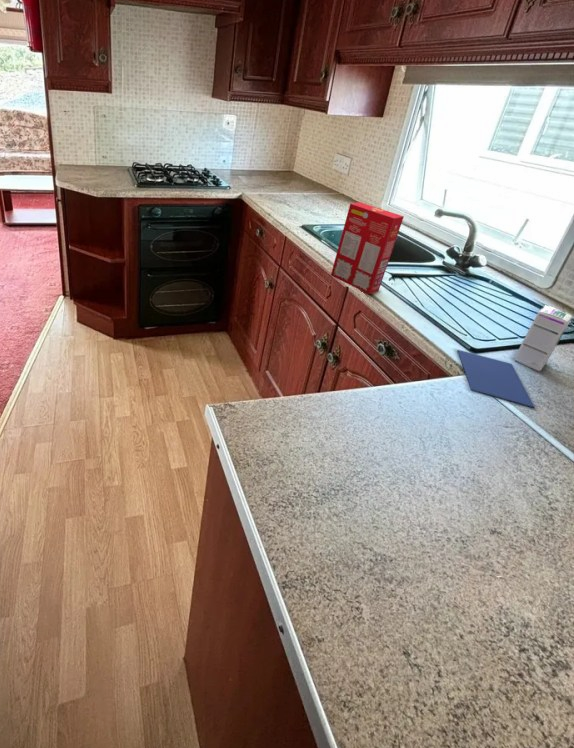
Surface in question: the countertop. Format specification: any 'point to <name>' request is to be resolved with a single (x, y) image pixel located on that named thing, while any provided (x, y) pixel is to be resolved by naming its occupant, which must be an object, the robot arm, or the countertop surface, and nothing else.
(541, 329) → the syrup box
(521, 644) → the countertop surface
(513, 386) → the cloth
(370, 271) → the food packaging
